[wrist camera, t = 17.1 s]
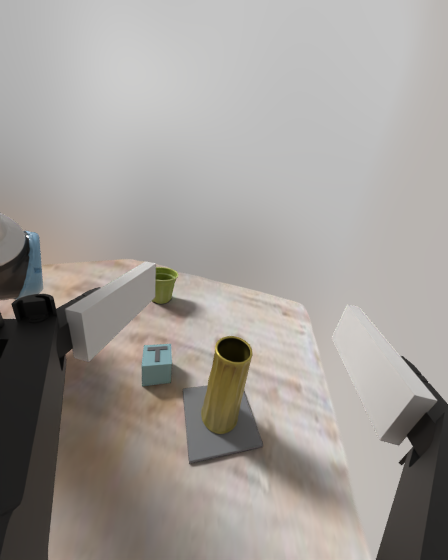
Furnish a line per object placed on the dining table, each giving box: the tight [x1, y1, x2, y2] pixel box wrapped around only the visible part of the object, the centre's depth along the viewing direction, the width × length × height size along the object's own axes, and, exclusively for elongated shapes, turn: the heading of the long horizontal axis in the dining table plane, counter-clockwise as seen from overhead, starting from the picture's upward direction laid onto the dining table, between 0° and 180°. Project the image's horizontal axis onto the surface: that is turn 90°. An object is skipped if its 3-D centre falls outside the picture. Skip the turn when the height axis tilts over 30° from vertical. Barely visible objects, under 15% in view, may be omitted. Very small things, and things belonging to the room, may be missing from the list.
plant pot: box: [152, 267, 178, 304], centre depth 63 cm, size 9×9×9 cm
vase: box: [201, 336, 252, 434], centre depth 31 cm, size 6×6×14 cm
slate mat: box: [183, 386, 263, 464], centre depth 35 cm, size 11×11×1 cm
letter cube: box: [142, 344, 172, 386], centre depth 39 cm, size 5×5×5 cm
